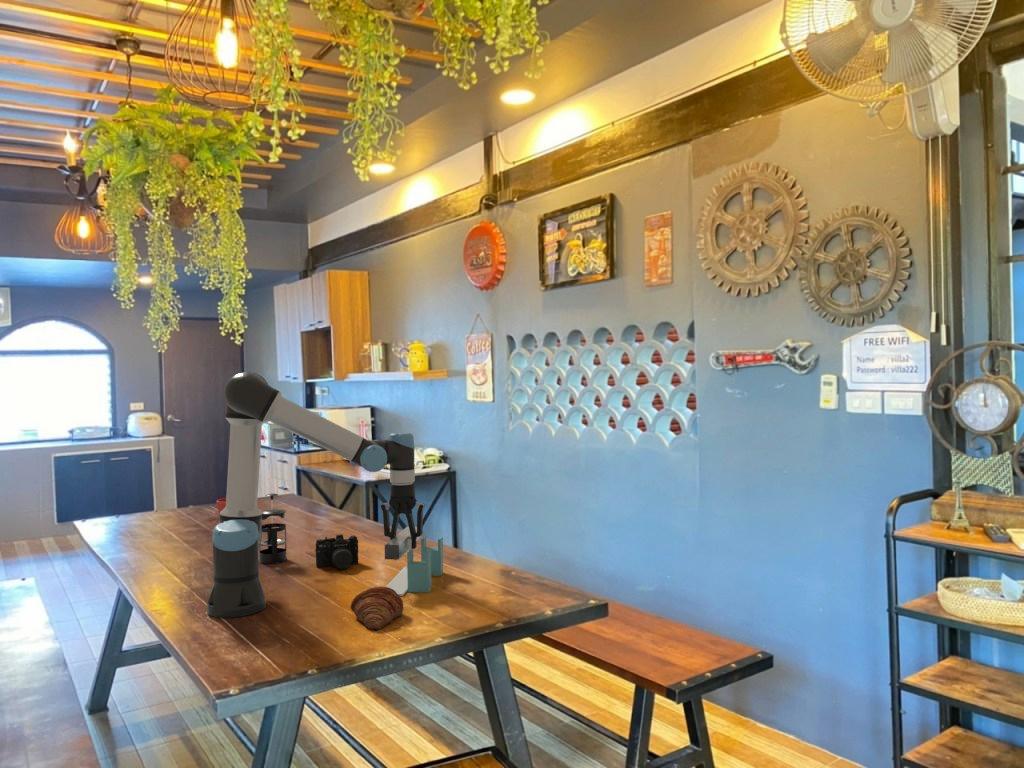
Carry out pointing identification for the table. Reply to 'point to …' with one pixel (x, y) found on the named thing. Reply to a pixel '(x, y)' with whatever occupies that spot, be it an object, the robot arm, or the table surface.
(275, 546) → the french press
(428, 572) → the post
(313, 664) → the table surface
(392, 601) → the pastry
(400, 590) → the white flat board
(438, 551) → the post
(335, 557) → the camera
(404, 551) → the rail
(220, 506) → the flower pot
